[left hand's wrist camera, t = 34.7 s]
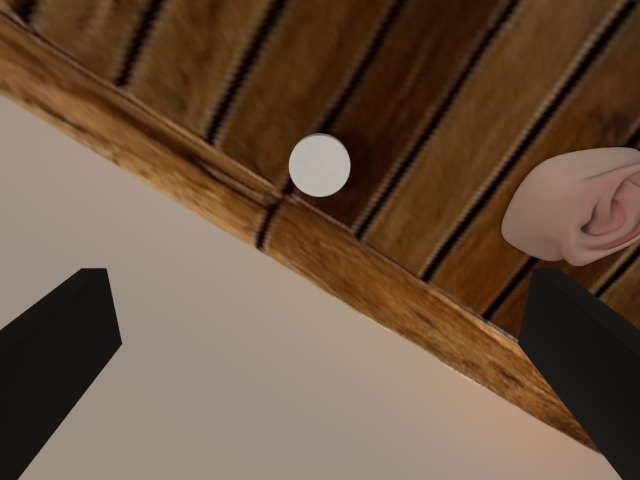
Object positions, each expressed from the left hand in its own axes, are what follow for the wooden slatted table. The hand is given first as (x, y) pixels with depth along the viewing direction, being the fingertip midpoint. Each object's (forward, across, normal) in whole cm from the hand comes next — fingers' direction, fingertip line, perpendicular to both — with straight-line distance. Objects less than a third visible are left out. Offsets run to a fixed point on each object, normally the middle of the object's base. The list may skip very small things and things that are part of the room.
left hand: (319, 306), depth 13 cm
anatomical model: (+27, +25, -4) cm, 37 cm away
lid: (+25, 0, 0) cm, 25 cm away
